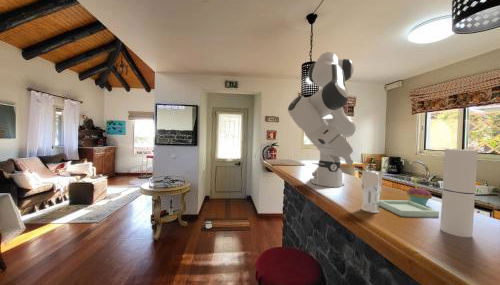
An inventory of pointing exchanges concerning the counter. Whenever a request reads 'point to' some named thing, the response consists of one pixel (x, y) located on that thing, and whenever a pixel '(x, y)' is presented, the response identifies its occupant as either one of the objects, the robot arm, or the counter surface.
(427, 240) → the counter surface
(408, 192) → the cupcake
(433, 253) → the counter surface
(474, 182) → the cylindrical container
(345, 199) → the counter surface
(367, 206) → the white upright block
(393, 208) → the tray
